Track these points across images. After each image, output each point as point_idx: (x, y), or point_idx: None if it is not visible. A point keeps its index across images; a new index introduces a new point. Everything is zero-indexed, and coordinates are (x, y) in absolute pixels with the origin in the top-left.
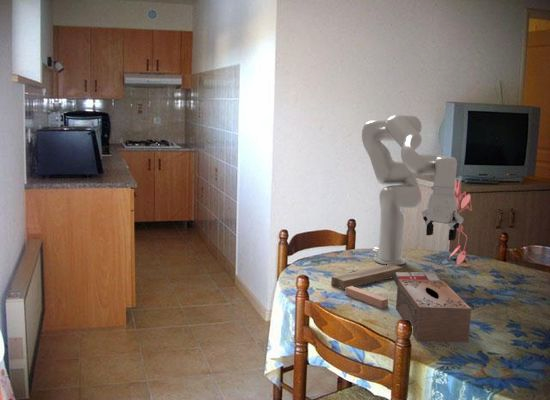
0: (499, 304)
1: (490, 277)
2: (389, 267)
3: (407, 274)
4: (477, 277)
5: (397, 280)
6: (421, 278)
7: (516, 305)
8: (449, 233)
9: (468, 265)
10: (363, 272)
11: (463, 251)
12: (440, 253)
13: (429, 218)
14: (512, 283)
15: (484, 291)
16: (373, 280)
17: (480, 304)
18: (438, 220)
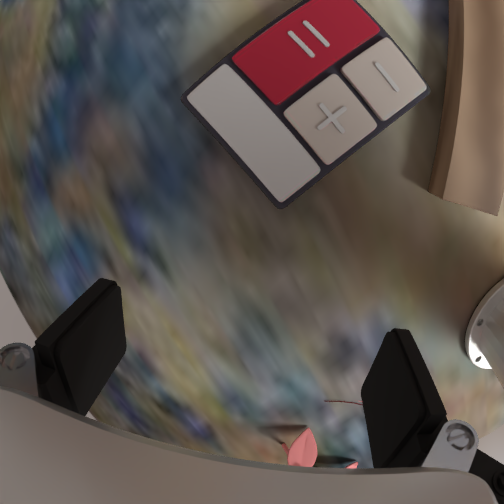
0: (22, 151)
1: (177, 389)
2: (483, 152)
3: (366, 81)
4: (200, 368)
5: (362, 7)
6: (272, 59)
7: (4, 185)
8: (73, 315)
9: (284, 443)
10: (496, 9)
11: None
12: None
13: (442, 495)
14: None
15: (97, 237)
16: (451, 13)
17: (46, 98)
18: (165, 477)
